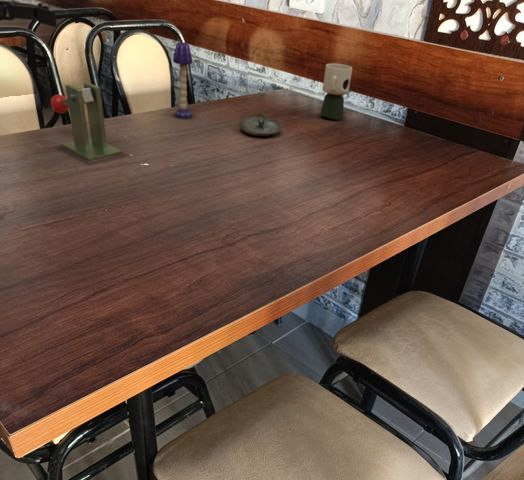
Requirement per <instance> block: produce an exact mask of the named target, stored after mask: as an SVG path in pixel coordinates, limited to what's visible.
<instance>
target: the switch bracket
mask: <svg viewBox="0 0 524 480" xmlns="http://www.w3.org/2000/svg"><path fill="white" fill-rule="evenodd" d="M64 87H65V92H66V99H68V106H69V109H68V111H69V119H70V124H71V131H72V135H73V136H72V137H73V140H68V141H63V142H59V146H60V147H61V148H63V149H65V150H68V151H69V152H71V153H73V154H75V155H77V156H79V157H80V158H82V159H84V160H86V161H87V162H91V161H96V160H101V159H105V158H111V157H114V156H119V155H123V154H124V152H123V150H122V149H120V148H118V147H115V146H113V145H111V144H109V143H108V142H107V136H106V126H105V116H104V110H103V109H104V108H103V102H102V100H103V99H102V92H101V87H100V86H98V85H95V84H93V83H90V82H89V81H87V82H83V89H84V88H91V92H92V95H93V99H94V101H93V102H89V103H85V104H84V101H83V94H82V90H81V89H82V88H79V87H76V86H74V85H72V84H65V86H64ZM85 105H86V110H85ZM86 111H87V116H86ZM87 118H88V124H87ZM88 126H89V131H90V132H89V131H88ZM89 135H90V136H89Z"/></svg>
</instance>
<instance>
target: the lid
mask: <svg viewBox="0 0 524 480" xmlns="http://www.w3.org/2000/svg"><path fill="white" fill-rule="evenodd" d="M238 126H239V128H240V129H241V130H242V131H243V132H244V133H246V134H248V135H250V136H255V137H269V136H274V135H276V134H278V133H280V132H281V130H282V129H283V125H282V124H281V123H280V121H278V120H276V119H273V118H271V117H266V115H265V113H262V112H260V113H258V115H257V116H251V117H246V118H244V119H242V120H240V121H239V125H238Z"/></svg>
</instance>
